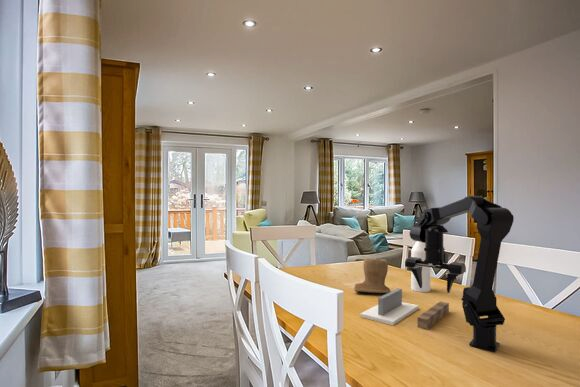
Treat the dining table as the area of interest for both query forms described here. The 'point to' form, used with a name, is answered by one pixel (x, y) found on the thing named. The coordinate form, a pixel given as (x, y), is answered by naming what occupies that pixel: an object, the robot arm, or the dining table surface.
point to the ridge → (390, 308)
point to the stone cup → (374, 276)
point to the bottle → (420, 253)
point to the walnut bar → (433, 315)
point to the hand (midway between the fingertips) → (434, 290)
